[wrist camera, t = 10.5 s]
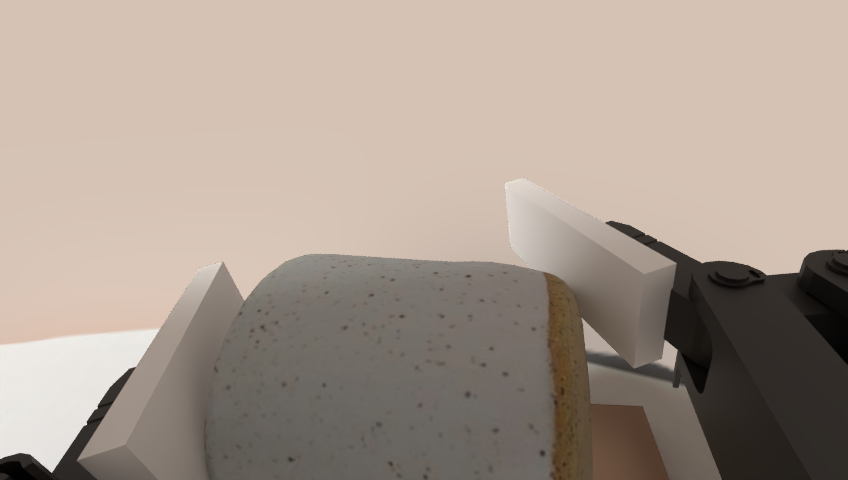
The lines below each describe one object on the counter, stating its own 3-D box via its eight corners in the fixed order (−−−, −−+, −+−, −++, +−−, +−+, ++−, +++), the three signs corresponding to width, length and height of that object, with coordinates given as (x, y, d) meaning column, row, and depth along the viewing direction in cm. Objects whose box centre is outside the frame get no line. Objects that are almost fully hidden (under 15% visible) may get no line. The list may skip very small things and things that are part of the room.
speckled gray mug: (601, 672, 8) (625, 444, 4) (276, 582, 10) (121, 391, 7) (560, 326, 17) (557, 163, 13) (393, 323, 19) (354, 184, 16)
